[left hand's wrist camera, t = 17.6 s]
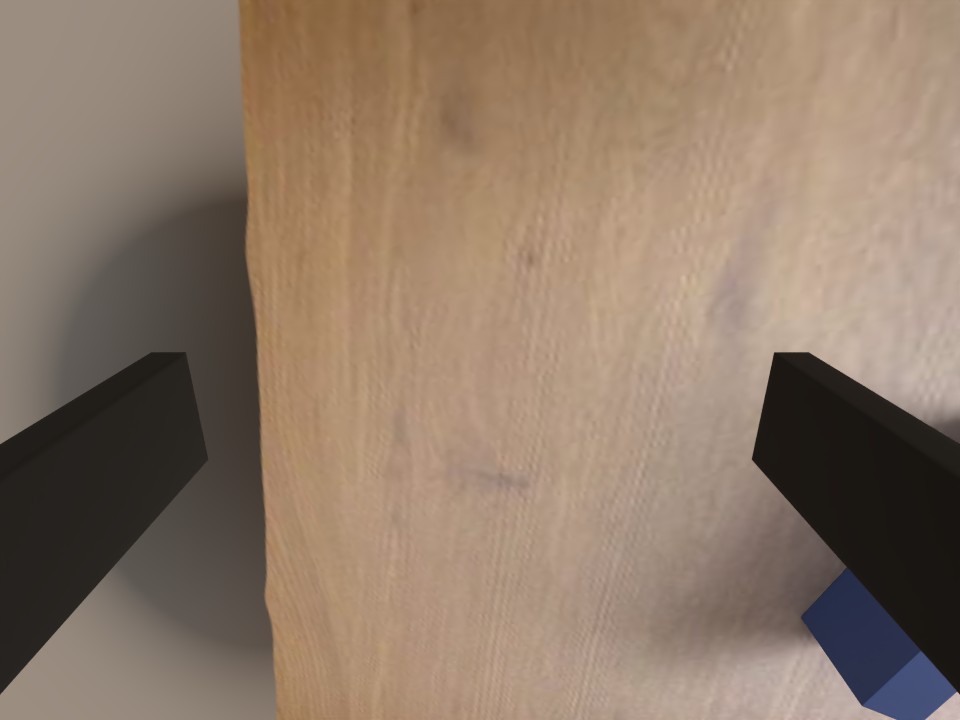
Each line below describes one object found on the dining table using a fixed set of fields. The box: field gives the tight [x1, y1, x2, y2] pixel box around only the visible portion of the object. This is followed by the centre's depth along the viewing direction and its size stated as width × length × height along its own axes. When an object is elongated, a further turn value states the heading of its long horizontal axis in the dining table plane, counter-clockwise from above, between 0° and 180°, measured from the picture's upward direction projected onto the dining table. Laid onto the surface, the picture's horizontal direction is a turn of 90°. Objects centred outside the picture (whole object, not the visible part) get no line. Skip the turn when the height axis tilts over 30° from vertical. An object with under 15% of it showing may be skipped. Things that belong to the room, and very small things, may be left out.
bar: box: [801, 568, 957, 720], centre depth 44 cm, size 24×6×9 cm, turn 154°
